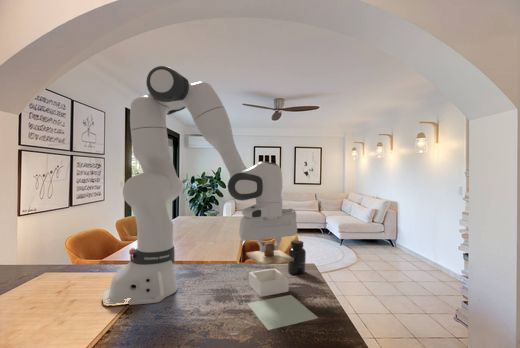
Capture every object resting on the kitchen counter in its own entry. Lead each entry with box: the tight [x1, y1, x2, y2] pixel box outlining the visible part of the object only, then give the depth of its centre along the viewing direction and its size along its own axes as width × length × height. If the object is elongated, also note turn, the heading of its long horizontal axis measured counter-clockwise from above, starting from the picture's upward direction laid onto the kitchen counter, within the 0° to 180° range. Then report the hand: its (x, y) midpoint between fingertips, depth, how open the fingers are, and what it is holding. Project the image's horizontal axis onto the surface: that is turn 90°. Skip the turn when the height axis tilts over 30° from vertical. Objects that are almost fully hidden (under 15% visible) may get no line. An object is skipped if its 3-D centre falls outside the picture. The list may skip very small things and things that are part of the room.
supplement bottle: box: [287, 240, 307, 276], centre depth 111 cm, size 7×7×12 cm
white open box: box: [248, 268, 290, 298], centre depth 95 cm, size 10×10×5 cm
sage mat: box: [246, 294, 319, 331], centre depth 80 cm, size 15×15×1 cm
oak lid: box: [245, 241, 294, 266], centre depth 95 cm, size 12×12×5 cm
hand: (269, 250), depth 95 cm, fingers closed on oak lid, 3 cm apart
